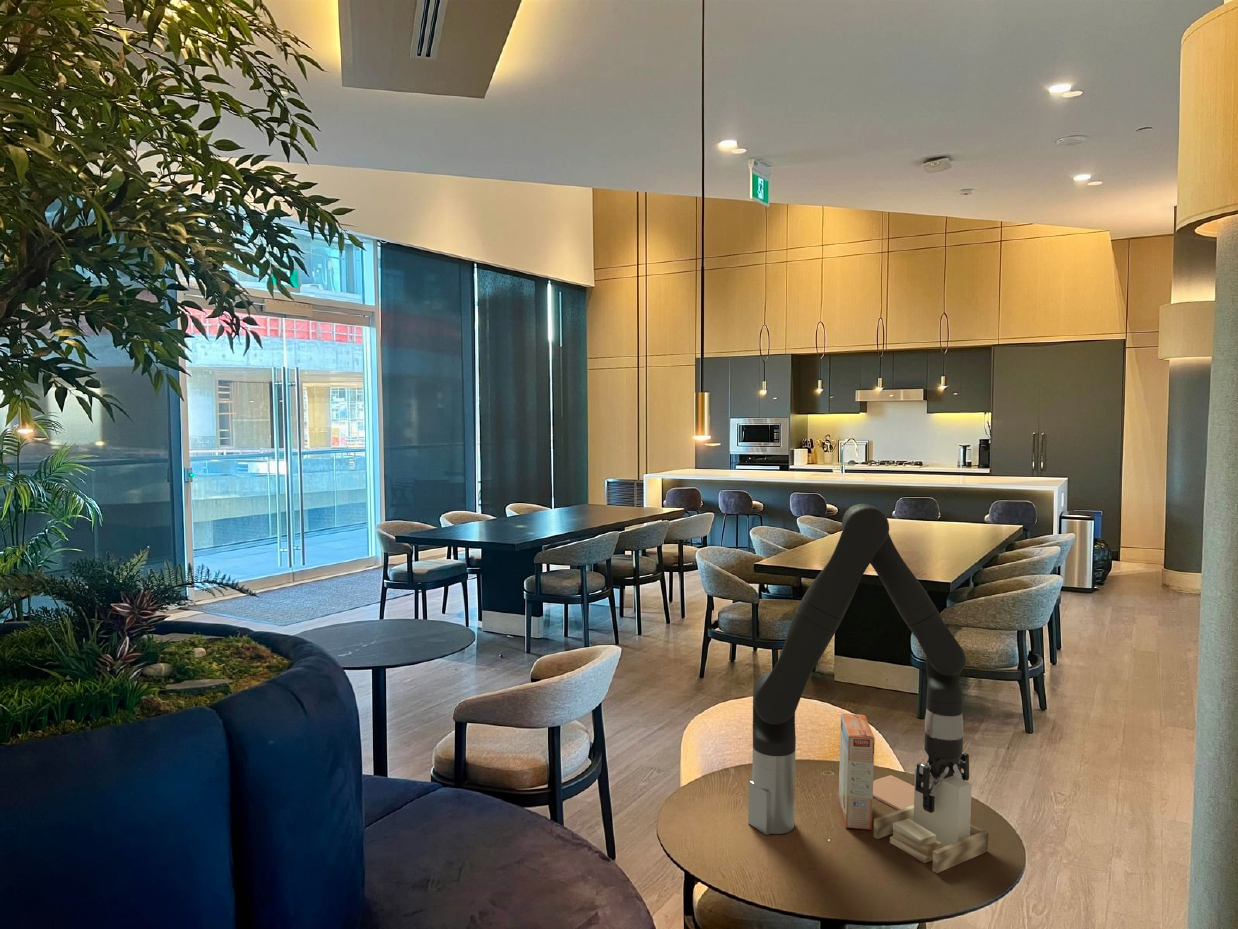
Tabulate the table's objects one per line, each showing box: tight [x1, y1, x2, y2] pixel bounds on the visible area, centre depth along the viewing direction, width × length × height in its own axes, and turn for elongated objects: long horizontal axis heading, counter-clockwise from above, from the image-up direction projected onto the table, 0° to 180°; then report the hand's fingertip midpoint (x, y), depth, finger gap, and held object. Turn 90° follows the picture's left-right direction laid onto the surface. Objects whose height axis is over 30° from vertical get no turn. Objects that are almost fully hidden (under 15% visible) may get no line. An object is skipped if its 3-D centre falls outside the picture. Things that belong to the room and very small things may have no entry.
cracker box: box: [838, 713, 876, 831], centre depth 183 cm, size 14×6×21 cm, turn 171°
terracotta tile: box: [873, 774, 914, 811], centre depth 193 cm, size 12×16×1 cm
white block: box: [913, 767, 972, 847], centre depth 172 cm, size 4×11×14 cm, turn 31°
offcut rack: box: [873, 805, 989, 874], centre depth 171 cm, size 16×16×4 cm
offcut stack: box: [889, 819, 942, 864], centre depth 169 cm, size 5×9×4 cm, turn 30°
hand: (942, 806), depth 172 cm, fingers open, 8 cm apart
